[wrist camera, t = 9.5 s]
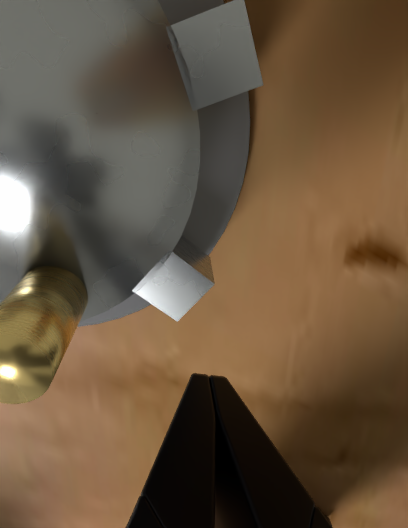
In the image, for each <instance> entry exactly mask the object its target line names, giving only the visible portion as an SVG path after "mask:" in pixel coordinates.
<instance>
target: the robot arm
mask: <svg viewBox="0 0 408 528" xmlns="http://www.w3.org/2000/svg"><path fill="white" fill-rule="evenodd" d="M126 528H332V525H331V522H330V519H329V517H327V516H325V515H324V514H323V513H322V512H321V511H320V509H319V508H318V507H315V503H314V501H313V500H312V498H311V497H310V495H309V494H308V493H307V491H306V490H305V488H304V487H303V485H302V484H301V483H300V481H299V480H298V478H297V477H296V476H295V474H294V473H293V471H292V470H291V469H290V467H289V466H288V464H287V463H286V461H285V460H284V459H283V457H282V456H281V454H280V453H279V452H278V450H277V449H276V447H275V446H274V445H273V443H272V442H271V440H270V439H269V437H268V436H267V435H266V433H265V432H264V430H263V429H262V428H261V426H260V425H259V423H258V422H257V420H256V419H255V418H254V416H253V415H252V413H251V412H250V411H249V409H248V408H247V406H246V405H245V404H244V402H243V401H242V399H241V398H240V396H239V395H238V394H237V392H236V391H235V389H234V388H233V387H232V385H231V384H230V382H229V381H228V380H227V378H225V377H223V376H215V375H211V376H208V375H206V374H197V373H193V374H192V375H191V377H190V380H189V382H188V384H187V387H186V389H185V391H184V394H183V396H182V398H181V401H180V403H179V405H178V408H177V410H176V412H175V415H174V417H173V419H172V422H171V424H170V426H169V429H168V431H167V434H166V436H165V438H164V441H163V443H162V445H161V448H160V450H159V452H158V455H157V457H156V459H155V462H154V464H153V466H152V469H151V471H150V473H149V476H148V478H147V480H146V483H145V485H144V487H143V490H142V492H141V496H140V497H139V498H138V501H137V503H136V506H135V508H134V510H133V513H132V515H131V517H130V519H129V521H128V524H127V526H126Z"/></svg>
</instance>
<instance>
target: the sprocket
mask: <svg viewBox="0 0 408 528" xmlns="http://www.w3.org/2000/svg"><path fill="white" fill-rule="evenodd" d="M262 85H263V81H262V77H261V72H260V68H259V64H258V59H257V55H256V50H255V46H254V42H253V37H252V33H251V28H250V24H249V20H248V15H247V11H246V6H245V2H244V0H233V1H231V2H228V3H226V4H223V5H221V6H218V7H216V8H213V9H211V10H208V11H206V12H203V13H200V14H198V15H195V16H193V17H190V18H188V19H185V20H183V21H180V22H178V23H175V24H173V25H170V23H169V21H168V19H167V17H166V15H165V13H164V11H163V9H162V7H161V5H160V3H159V1H158V0H0V403H6V404H19V403H25V402H29V401H32V400H35V399H37V398H39V397H40V396H41V395H43V394H44V393H45V392H46V391H47V389H48V388H49V386H50V384H51V382H52V380H53V378H54V375H55V373H56V371H57V369H58V367H59V365H60V363H61V360H62V358H63V356H64V354H65V352H66V350H67V348H68V345H69V343H70V341H71V339H72V337H73V335H74V333H75V330H76V328H77V326H78V324H79V322H80V321H83V320H85V319H88V318H91V317H93V316H96V315H98V314H101V313H103V312H105V311H107V310H109V309H111V308H113V307H114V306H116V305H118V304H120V303H122V302H123V301H125V300H126V299H127V298H129V297H130V296H131V295H133V294H134V293H136V294H137V295H139V296H140V297H142V298H143V299H145V300H146V301H148V302H149V303H151V304H152V305H154V306H155V307H157V308H158V309H160V310H161V311H163V312H164V313H165V314H167V315H168V316H170V317H171V318H173V319H174V320H176V321H178V320H179V319H180V318H181V317H182V316H183V315H184V314H185V313H186V312H187V311H188V310H189V309H190V308H191V307H192V306H193V305H194V304H195V303H196V302H197V301H198V300H199V299H200V298H201V297H202V296H203V295H204V294H205V293H206V292H207V291H208V290H209V289H210V288H211V287H212V286H213V285H214V284H215V283H214V277H213V272H212V266H211V260H210V257H209V256H208V255H207V254H205V253H204V252H203V251H202V250H200V249H199V248H198V247H197V246H195V245H194V244H193V243H191V242H190V241H189V240H188V239H186V238H185V237H184V236H183V235H182V233H183V230H184V228H185V226H186V223H187V221H188V218H189V216H190V213H191V209H192V205H193V201H194V198H195V194H196V190H197V183H198V175H199V167H200V128H199V120H198V112H197V110H198V109H200V108H203V107H206V106H208V105H211V104H214V103H216V102H219V101H222V100H224V99H227V98H230V97H233V96H235V95H238V94H241V93H243V92H246V91H249V90H251V89H254V88H257V87H259V86H262Z"/></svg>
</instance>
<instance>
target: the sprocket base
mask: <svg viewBox="0 0 408 528" xmlns="http://www.w3.org/2000/svg"><path fill="white" fill-rule="evenodd" d="M158 1H159V3H160V5H161V7H162V9H163V11H164V13H165V15H166V17H167V19H168V21H169V23H170V25H173V24H175V23H178V22H180V21H183V20H185V19H188V18H190V17H193V16H195V15H198V14H200V13H203V12H206V11H208V10H211V9H213V8H216V7H218V6H221V5H223V4H224V2H223V0H158ZM197 112H198V120H199V128H200V167H199V175H198V183H197V190H196V194H195V198H194V201H193V205H192V209H191V213H190V216H189V218H188V221H187V223H186V226H185V228H184V230H183V233H182V235H183V236H184V237H185V238H186V239H188V240H189V241H190V242H191V243H193V244H194V245H195V246H197V247H198V248H199V249H200V250H202V251H203V252H204V253H205V254H207V255H209V254H210V253H211V251H212V250H213V248H214V246H215V245H216V243H217V242H218V240H219V239H220V237H221V235H222V234H223V232H224V230H225V228H226V226H227V224H228V222H229V220H230V218H231V215H232V213H233V211H234V209H235V206H236V203H237V200H238V197H239V194H240V190H241V187H242V184H243V180H244V175H245V169H246V164H247V158H248V152H249V134H250V111H249V95H248V91H246V92H243V93H241V94H238V95H235V96H233V97H230V98H227V99H224V100H222V101H219V102H216V103H214V104H211V105H208V106H206V107H203V108H200V109H198V110H197ZM149 305H151V303H149V302H148V301H146V300H145V299H143V298H142V297H140V296H139V295H137V294H136V293H134V294H133V295H131V296H130V297H129V298H127V299H126V300H125V301H123V302H122V303H120V304H118V305H116V306H114V307H113V308H111V309H109V310H107V311H105V312H103V313H101V314H98V315H96V316H93V317H91V318H88V319H85V320H83V321H80V322H79V324H78V326H77V327H79V326H86V325H93V324H99V323H103V322H107V321H110V320H114V319H118V318H121V317H124V316H126V315H129V314H131V313H134V312H137V311H139V310H141V309H143V308H145V307H147V306H149Z"/></svg>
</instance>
